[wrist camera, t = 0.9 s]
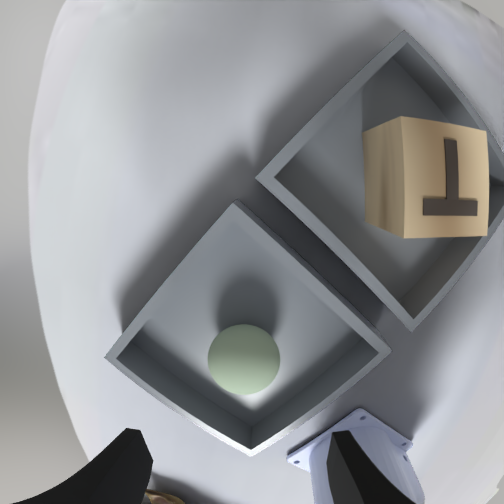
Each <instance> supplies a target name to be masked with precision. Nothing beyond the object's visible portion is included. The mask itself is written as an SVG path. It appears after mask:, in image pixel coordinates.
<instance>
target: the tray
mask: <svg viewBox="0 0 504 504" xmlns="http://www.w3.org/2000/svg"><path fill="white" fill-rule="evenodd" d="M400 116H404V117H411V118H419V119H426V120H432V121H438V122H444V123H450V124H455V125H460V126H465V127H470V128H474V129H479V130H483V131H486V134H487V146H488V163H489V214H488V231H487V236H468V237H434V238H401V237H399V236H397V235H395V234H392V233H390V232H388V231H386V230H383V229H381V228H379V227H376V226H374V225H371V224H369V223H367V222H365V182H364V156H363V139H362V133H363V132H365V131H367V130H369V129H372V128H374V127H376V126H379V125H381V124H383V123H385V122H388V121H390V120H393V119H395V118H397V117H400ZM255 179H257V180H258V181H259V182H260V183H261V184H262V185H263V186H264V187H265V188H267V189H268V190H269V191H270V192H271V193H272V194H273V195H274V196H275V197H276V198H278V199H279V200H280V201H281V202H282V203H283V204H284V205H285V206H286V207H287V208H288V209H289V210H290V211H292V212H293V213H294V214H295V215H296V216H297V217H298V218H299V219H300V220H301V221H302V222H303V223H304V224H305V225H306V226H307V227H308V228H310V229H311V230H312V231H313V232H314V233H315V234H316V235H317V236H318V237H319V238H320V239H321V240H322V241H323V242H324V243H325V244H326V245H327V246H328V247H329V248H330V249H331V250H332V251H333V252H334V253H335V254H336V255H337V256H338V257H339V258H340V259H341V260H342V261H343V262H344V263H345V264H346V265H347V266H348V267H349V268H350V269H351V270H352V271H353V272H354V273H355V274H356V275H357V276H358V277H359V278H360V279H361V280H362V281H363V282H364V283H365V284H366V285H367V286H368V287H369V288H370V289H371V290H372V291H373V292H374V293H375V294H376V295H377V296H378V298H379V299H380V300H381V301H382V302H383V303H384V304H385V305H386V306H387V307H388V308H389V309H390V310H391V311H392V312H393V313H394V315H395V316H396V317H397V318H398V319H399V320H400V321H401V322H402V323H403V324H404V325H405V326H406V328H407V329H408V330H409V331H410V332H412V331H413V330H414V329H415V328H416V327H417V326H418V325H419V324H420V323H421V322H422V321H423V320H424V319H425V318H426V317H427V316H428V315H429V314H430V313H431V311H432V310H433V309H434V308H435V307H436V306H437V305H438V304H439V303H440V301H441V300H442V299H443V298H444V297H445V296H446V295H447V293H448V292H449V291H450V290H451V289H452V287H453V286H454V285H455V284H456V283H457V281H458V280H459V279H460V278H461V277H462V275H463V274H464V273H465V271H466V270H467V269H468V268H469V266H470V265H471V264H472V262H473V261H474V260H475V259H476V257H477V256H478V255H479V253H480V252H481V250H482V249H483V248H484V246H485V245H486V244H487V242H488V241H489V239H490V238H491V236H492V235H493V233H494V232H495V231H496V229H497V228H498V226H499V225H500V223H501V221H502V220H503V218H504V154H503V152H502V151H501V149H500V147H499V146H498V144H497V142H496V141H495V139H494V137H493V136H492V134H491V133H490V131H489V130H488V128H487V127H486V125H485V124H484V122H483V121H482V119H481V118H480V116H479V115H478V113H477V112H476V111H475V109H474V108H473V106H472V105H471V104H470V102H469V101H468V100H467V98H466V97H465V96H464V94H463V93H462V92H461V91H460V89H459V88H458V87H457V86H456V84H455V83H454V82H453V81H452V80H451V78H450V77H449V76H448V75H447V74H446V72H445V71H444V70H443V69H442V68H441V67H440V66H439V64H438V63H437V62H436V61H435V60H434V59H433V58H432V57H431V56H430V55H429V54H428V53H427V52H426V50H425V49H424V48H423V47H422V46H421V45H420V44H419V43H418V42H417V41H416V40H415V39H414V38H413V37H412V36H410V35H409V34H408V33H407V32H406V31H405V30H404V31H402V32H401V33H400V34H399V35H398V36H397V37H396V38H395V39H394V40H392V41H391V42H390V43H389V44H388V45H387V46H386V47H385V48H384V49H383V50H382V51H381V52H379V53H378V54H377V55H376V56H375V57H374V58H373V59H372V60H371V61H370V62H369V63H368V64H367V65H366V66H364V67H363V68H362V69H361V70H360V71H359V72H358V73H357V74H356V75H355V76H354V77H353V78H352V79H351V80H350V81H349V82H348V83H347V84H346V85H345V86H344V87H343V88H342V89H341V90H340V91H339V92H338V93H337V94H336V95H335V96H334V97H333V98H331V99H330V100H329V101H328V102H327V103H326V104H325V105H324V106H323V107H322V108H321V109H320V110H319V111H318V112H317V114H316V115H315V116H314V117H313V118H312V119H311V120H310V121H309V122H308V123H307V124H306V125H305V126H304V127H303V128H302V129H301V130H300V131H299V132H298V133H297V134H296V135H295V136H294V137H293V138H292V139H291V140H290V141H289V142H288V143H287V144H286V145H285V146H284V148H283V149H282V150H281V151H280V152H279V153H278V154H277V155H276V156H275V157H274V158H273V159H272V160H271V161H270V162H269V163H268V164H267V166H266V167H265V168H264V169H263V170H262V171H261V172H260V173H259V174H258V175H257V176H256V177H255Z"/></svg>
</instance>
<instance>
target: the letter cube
mask: <svg viewBox="0 0 504 504" xmlns="http://www.w3.org/2000/svg"><path fill="white" fill-rule="evenodd" d="M362 139H363V156H364V182H365V222H367V223H369V224H371V225H374V226H376V227H379V228H381V229H383V230H386V231H388V232H390V233H392V234H395V235H397V236H399V237H401V238H434V237H468V236H487V231H488V214H489V163H488V146H487V134H486V131H483V130H479V129H474V128H470V127H465V126H460V125H455V124H450V123H444V122H438V121H432V120H426V119H419V118H411V117H404V116H400V117H397V118H395V119H393V120H390V121H388V122H385V123H383V124H381V125H379V126H376V127H374V128H372V129H369V130H367V131H365V132H363V133H362Z"/></svg>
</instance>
